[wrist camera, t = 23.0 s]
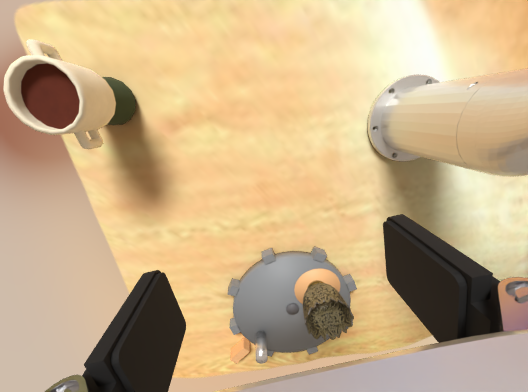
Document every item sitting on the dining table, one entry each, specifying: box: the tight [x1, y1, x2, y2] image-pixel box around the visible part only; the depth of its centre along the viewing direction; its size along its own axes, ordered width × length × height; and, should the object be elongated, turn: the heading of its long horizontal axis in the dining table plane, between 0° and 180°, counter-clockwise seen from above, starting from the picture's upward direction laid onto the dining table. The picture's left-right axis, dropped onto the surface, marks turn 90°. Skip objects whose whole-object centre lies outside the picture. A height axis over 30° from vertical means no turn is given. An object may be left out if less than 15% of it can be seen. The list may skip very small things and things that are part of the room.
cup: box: [303, 280, 354, 341], centre depth 41 cm, size 8×7×8 cm
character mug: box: [4, 39, 136, 149], centre depth 29 cm, size 11×7×13 cm, turn 17°
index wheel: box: [228, 247, 357, 363], centre depth 45 cm, size 24×24×7 cm
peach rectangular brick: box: [230, 338, 250, 364], centre depth 50 cm, size 4×2×2 cm, turn 138°
